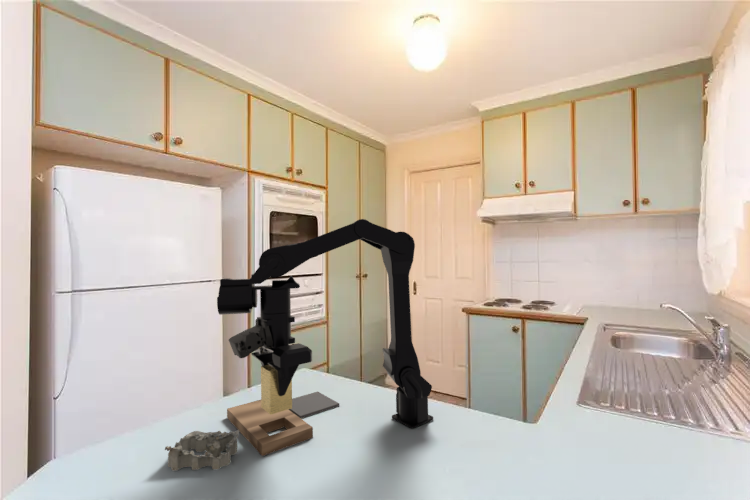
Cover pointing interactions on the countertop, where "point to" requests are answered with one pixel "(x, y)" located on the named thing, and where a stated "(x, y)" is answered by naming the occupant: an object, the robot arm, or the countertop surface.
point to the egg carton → (203, 442)
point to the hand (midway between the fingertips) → (276, 392)
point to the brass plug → (273, 392)
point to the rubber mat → (311, 404)
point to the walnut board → (268, 427)
